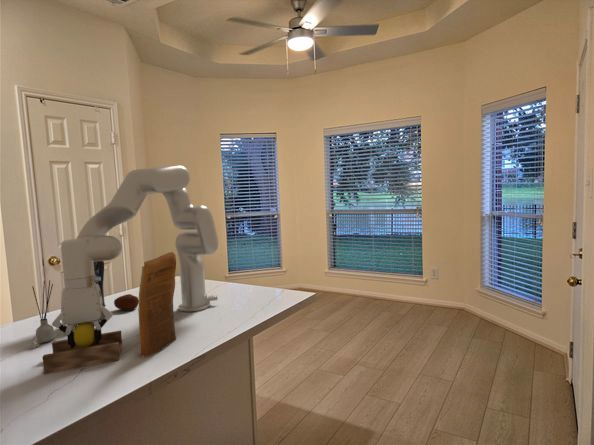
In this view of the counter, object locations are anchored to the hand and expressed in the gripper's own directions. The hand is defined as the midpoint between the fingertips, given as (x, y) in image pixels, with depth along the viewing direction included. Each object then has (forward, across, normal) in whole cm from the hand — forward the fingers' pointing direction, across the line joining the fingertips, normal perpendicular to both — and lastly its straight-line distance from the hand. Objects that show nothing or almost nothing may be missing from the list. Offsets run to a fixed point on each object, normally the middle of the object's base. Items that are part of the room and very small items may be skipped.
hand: (85, 343), depth 104 cm
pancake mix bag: (+5, -20, +1) cm, 21 cm away
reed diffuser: (+4, +14, -20) cm, 25 cm away
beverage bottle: (+4, +3, -35) cm, 35 cm away
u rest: (+4, 0, 0) cm, 4 cm away
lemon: (+1, 0, 0) cm, 1 cm away
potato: (+5, -8, -46) cm, 47 cm away
